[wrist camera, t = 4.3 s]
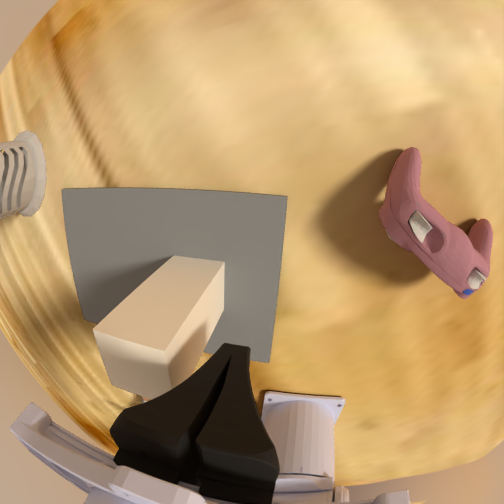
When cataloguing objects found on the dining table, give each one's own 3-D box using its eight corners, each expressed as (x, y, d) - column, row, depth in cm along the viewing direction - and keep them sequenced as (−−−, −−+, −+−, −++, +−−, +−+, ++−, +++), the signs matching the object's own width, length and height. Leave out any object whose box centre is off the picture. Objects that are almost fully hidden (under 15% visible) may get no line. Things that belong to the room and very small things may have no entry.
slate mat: (269, 360, 23) (269, 363, 22) (86, 317, 26) (84, 319, 25) (287, 196, 18) (287, 197, 17) (64, 188, 21) (61, 189, 20)
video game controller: (369, 182, 18) (364, 245, 13) (406, 136, 15) (423, 186, 10) (453, 253, 18) (464, 322, 14) (491, 220, 15) (516, 288, 10)
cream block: (223, 309, 21) (175, 407, 12) (176, 301, 22) (111, 385, 13) (224, 261, 20) (164, 351, 11) (173, 255, 20) (92, 329, 11)
